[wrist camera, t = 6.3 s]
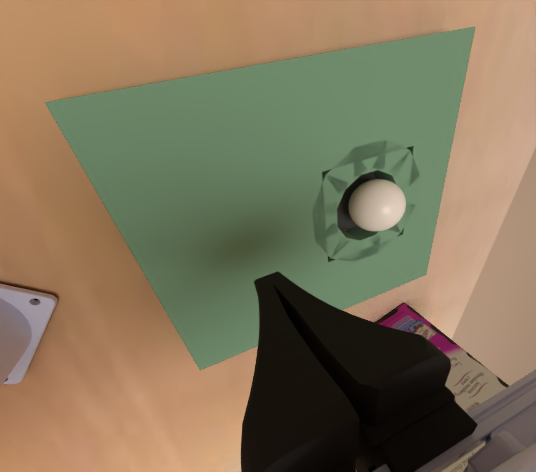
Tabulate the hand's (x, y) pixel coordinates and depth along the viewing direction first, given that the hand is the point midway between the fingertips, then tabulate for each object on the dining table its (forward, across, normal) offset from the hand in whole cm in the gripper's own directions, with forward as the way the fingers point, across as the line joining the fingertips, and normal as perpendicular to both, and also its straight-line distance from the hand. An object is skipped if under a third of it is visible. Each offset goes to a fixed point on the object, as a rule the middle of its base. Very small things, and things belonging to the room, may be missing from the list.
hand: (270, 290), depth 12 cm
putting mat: (+7, -5, 0) cm, 9 cm away
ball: (+4, -10, 0) cm, 11 cm away
